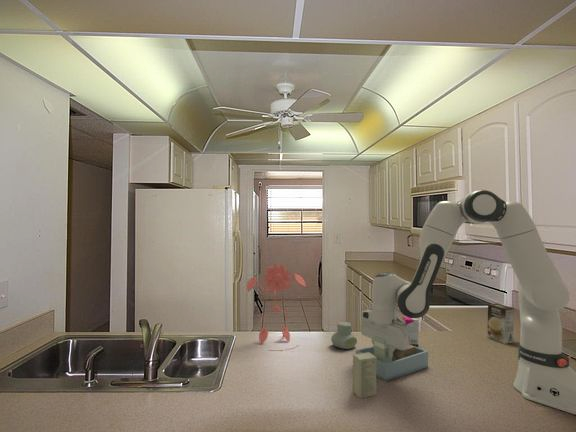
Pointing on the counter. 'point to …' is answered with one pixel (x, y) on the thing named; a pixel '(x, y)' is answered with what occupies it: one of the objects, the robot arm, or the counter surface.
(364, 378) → the skincare box
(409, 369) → the tote
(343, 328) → the air freshener
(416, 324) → the supplement box
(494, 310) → the coffee box
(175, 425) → the counter surface
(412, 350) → the walnut block
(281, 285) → the figurine
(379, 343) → the carton
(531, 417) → the counter surface
